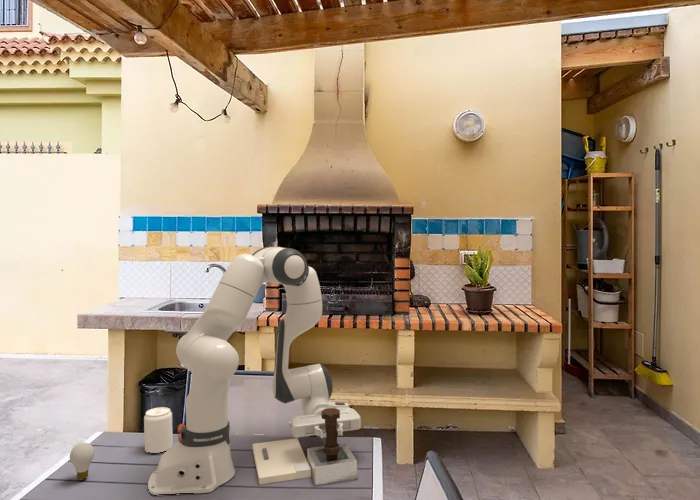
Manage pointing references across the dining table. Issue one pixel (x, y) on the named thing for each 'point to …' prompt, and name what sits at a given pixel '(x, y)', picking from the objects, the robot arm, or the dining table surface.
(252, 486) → the dining table surface
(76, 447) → the light bulb
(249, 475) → the dining table surface
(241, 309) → the robot arm
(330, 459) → the bolt
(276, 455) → the cabinet door
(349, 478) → the hollow square frame
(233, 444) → the dining table surface
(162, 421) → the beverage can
